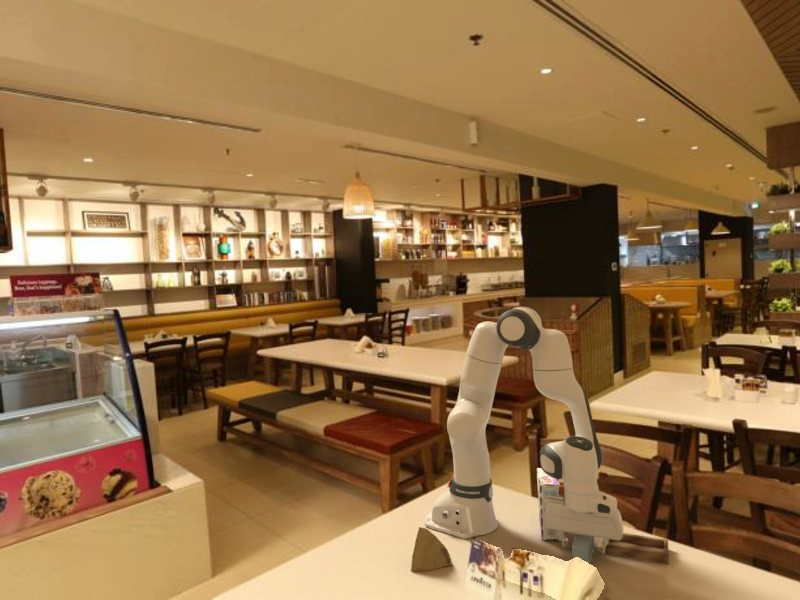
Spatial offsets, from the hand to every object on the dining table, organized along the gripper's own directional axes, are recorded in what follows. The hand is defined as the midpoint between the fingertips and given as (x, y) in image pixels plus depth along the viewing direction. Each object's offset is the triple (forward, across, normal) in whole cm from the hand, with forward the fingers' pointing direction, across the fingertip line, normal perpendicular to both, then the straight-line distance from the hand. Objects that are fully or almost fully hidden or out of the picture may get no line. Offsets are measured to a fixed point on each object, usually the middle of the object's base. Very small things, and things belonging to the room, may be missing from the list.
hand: (583, 548), depth 141 cm
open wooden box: (+2, +12, +7) cm, 14 cm away
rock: (+2, -36, -20) cm, 41 cm away
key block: (+2, 0, 0) cm, 2 cm away
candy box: (+2, -11, +11) cm, 16 cm away
